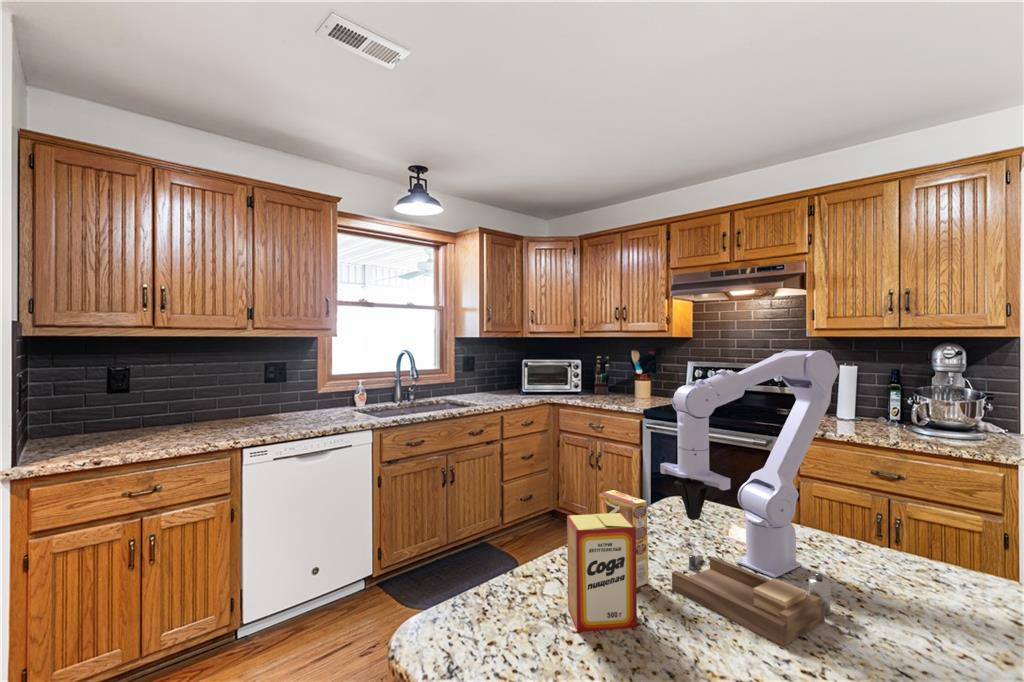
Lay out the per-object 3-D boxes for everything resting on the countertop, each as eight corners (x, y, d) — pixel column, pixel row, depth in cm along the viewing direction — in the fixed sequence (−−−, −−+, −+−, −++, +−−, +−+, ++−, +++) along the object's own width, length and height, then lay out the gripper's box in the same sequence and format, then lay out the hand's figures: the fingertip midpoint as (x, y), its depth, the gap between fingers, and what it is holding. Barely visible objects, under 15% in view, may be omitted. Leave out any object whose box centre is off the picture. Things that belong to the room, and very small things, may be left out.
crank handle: (697, 559, 101) (697, 546, 101) (703, 561, 100) (703, 547, 100) (688, 570, 96) (688, 556, 96) (694, 572, 95) (694, 558, 95)
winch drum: (814, 604, 83) (814, 568, 83) (834, 612, 80) (833, 575, 80) (805, 609, 81) (804, 572, 81) (824, 617, 79) (824, 580, 79)
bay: (713, 572, 95) (713, 551, 95) (825, 621, 78) (824, 595, 78) (672, 589, 88) (671, 566, 88) (783, 646, 71) (782, 618, 71)
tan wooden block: (775, 602, 81) (775, 578, 81) (807, 616, 77) (806, 590, 77) (753, 613, 78) (752, 588, 78) (784, 628, 74) (784, 602, 74)
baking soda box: (577, 632, 75) (576, 527, 75) (568, 609, 82) (567, 513, 82) (636, 627, 76) (635, 524, 76) (623, 605, 83) (622, 510, 83)
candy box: (649, 583, 90) (648, 500, 90) (633, 590, 88) (632, 504, 88) (614, 566, 98) (613, 489, 98) (599, 571, 95) (598, 492, 95)
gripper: (649, 443, 99) (650, 511, 99) (713, 457, 87) (713, 534, 86) (673, 440, 103) (673, 505, 102) (737, 452, 90) (737, 526, 90)
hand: (693, 518), depth 95 cm, fingers closed
